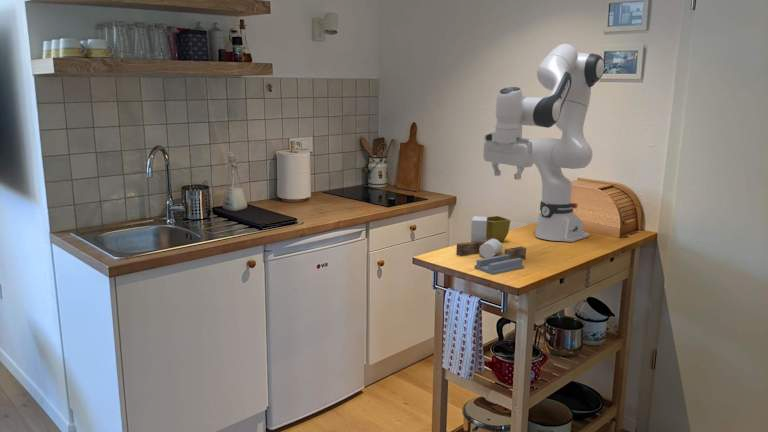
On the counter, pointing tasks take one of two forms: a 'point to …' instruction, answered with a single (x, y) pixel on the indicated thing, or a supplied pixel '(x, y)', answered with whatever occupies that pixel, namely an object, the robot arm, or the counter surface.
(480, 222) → the small box
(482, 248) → the roll
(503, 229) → the flower pot
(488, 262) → the cradle
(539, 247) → the counter surface
